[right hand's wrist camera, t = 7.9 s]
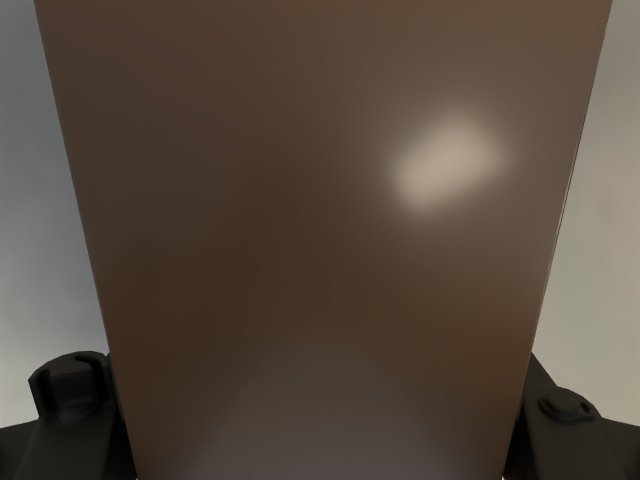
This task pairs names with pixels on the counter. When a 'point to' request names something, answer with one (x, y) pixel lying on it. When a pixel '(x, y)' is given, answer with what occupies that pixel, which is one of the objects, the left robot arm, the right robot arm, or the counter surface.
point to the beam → (321, 221)
